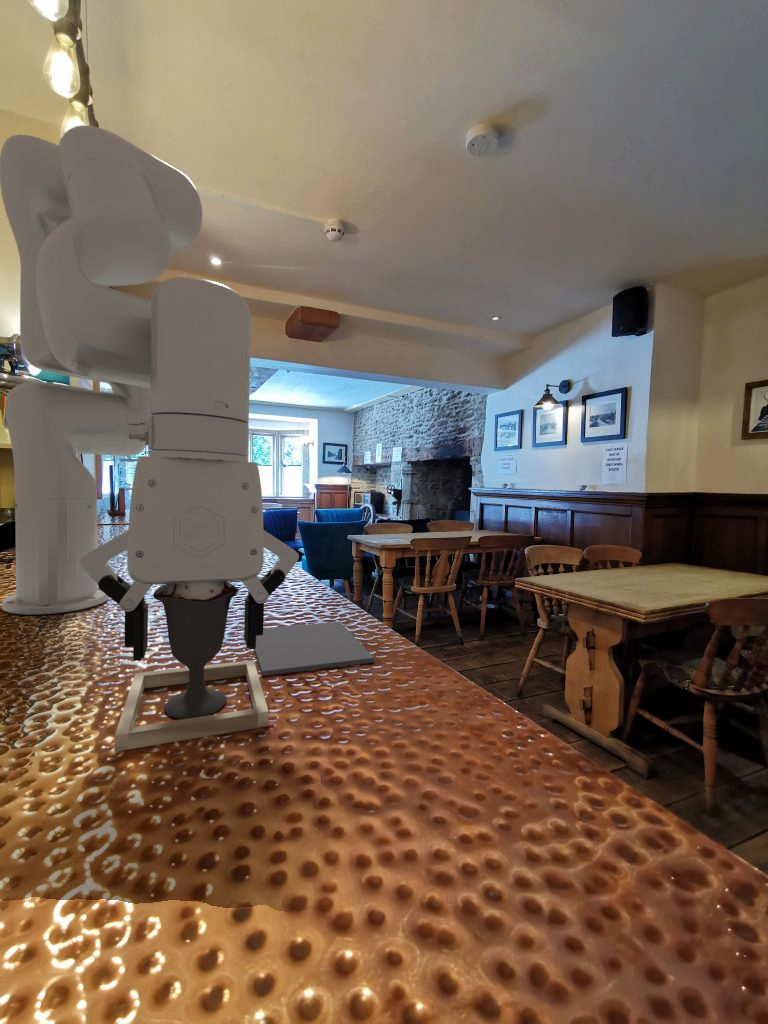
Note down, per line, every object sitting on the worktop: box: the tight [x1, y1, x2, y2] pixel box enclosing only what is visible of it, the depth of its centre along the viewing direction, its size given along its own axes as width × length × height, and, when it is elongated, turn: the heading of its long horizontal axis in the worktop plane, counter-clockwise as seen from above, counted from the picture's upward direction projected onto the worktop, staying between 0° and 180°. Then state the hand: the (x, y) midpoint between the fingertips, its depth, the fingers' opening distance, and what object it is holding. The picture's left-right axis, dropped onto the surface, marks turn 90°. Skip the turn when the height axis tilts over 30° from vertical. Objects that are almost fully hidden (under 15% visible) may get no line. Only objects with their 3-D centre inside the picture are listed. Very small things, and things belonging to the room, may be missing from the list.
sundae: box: [153, 582, 240, 720], centre depth 38 cm, size 7×7×15 cm
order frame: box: [114, 659, 269, 753], centre depth 38 cm, size 11×11×1 cm
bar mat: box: [253, 621, 375, 677], centre depth 52 cm, size 13×12×1 cm
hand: (197, 647), depth 38 cm, fingers open, 8 cm apart
